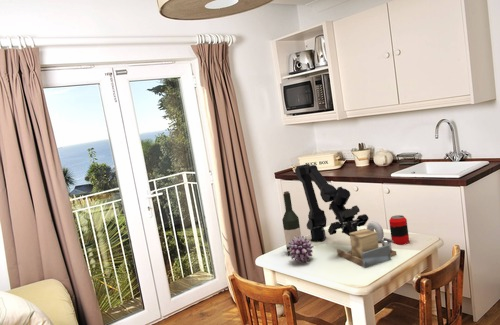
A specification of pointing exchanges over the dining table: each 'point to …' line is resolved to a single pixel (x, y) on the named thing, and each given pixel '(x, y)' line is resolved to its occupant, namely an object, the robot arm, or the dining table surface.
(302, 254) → the purple spiky ball
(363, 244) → the tall wooden block
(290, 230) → the wine bottle
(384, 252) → the bay
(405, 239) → the soda can
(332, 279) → the dining table surface
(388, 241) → the post
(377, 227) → the donut
